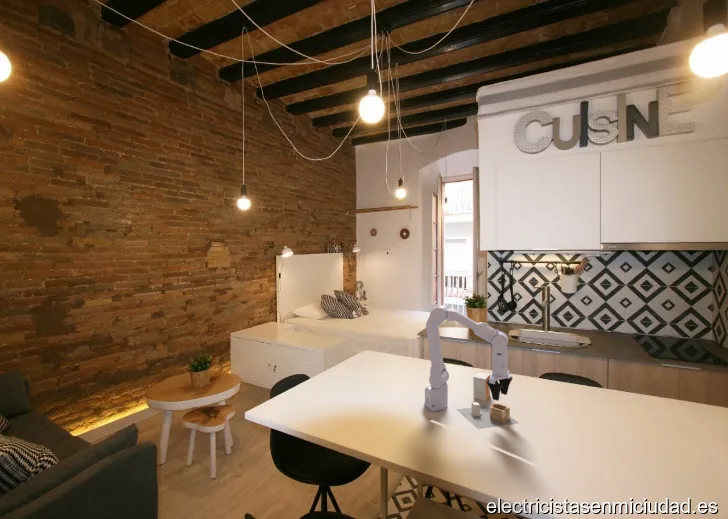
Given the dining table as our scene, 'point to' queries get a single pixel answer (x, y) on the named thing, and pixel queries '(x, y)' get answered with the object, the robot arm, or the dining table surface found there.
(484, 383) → the small box
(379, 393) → the dining table surface
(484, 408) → the panel
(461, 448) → the dining table surface
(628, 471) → the dining table surface
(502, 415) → the wooden cubby shelf
